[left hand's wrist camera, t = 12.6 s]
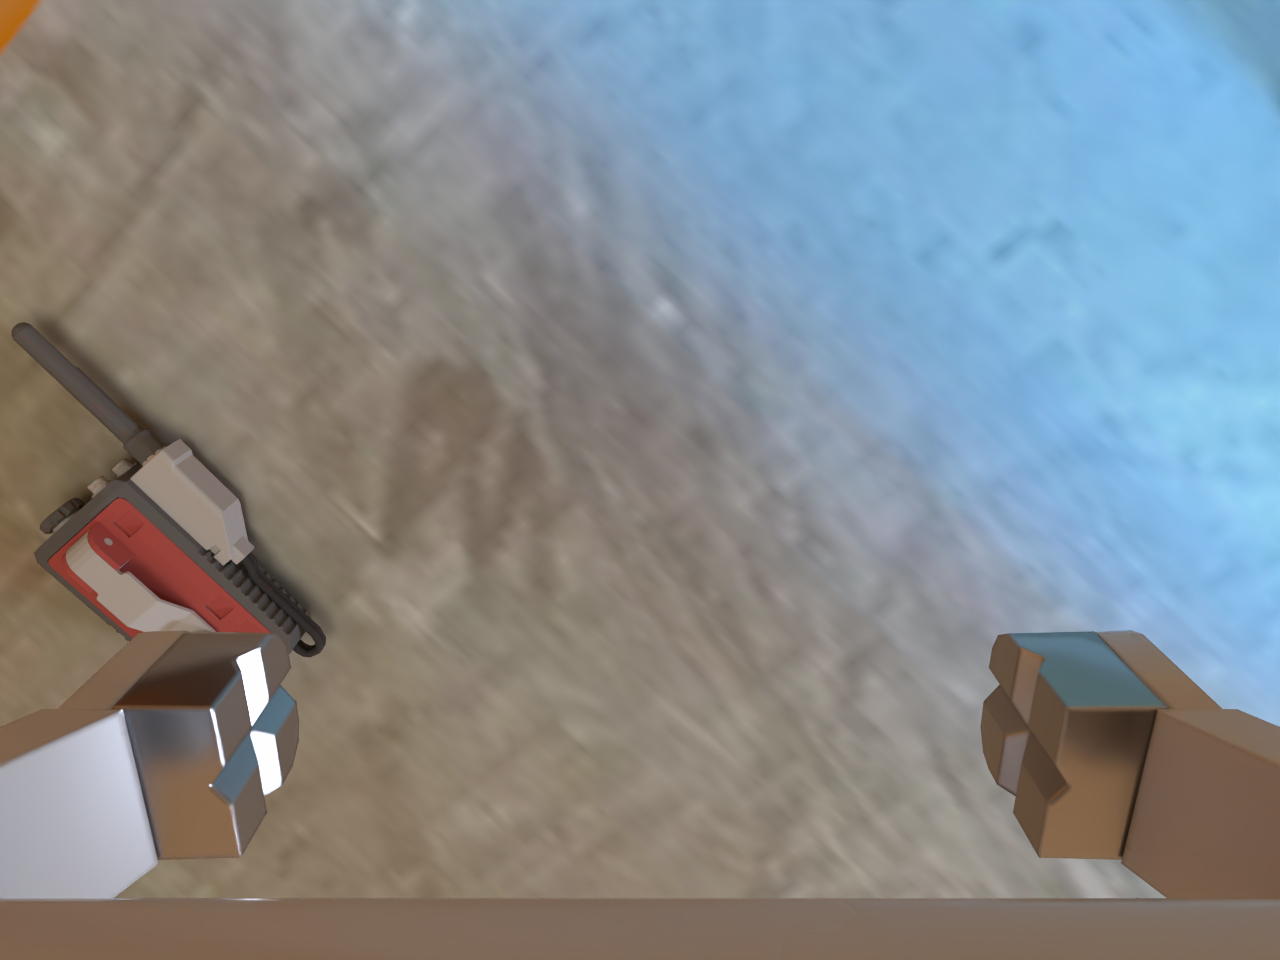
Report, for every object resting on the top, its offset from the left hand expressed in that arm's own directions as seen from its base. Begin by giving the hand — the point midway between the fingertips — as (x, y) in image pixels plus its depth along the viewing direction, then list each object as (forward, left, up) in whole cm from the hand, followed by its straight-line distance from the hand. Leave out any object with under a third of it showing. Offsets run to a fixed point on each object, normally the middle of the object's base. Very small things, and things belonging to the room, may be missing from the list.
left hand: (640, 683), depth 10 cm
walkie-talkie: (+25, -9, -32) cm, 41 cm away
